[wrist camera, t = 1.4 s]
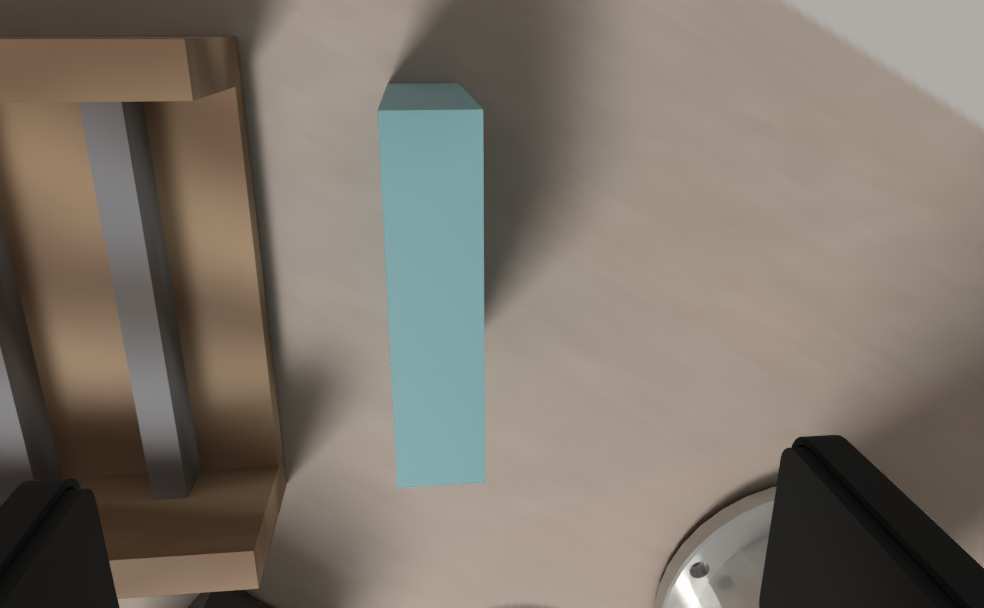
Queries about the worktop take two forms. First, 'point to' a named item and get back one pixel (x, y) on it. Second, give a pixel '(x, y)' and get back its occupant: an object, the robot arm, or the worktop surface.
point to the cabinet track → (138, 304)
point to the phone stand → (226, 600)
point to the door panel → (434, 279)
